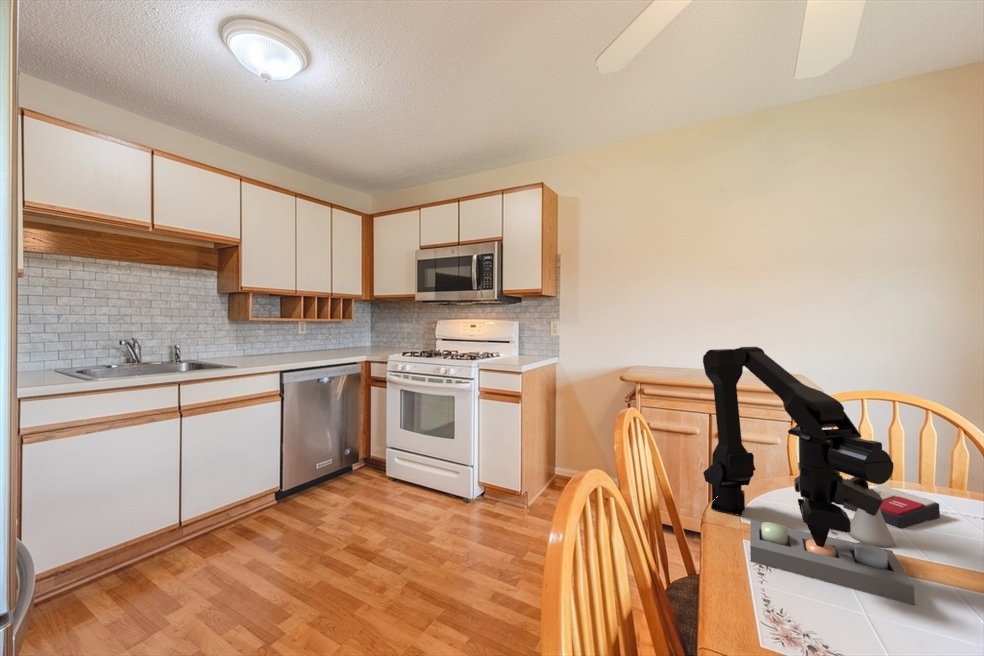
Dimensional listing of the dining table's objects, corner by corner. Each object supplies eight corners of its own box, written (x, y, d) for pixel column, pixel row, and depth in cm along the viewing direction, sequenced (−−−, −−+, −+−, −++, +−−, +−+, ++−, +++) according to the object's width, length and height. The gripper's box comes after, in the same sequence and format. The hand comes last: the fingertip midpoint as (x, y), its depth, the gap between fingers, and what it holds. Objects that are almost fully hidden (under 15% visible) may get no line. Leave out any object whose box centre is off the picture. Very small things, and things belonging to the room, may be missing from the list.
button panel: (750, 561, 75) (750, 545, 75) (750, 533, 84) (750, 519, 84) (914, 605, 62) (914, 586, 62) (892, 566, 72) (892, 550, 72)
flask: (905, 549, 78) (904, 500, 78) (862, 546, 79) (861, 497, 79) (877, 531, 85) (876, 485, 85) (838, 528, 86) (838, 483, 86)
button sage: (762, 545, 77) (761, 529, 77) (761, 535, 80) (761, 520, 80) (788, 551, 74) (788, 535, 74) (787, 541, 78) (786, 525, 78)
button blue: (857, 568, 69) (857, 550, 69) (852, 557, 72) (852, 540, 72) (890, 576, 66) (890, 558, 66) (884, 564, 70) (883, 546, 70)
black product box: (841, 494, 96) (880, 482, 100) (842, 511, 96) (881, 499, 101) (899, 514, 85) (940, 500, 90) (900, 533, 85) (940, 518, 90)
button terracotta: (807, 564, 73) (807, 547, 73) (805, 553, 76) (804, 537, 76) (837, 572, 70) (836, 554, 70) (833, 560, 74) (832, 543, 74)
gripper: (892, 490, 61) (894, 588, 61) (864, 457, 77) (866, 535, 77) (802, 476, 67) (804, 565, 67) (793, 448, 83) (794, 520, 83)
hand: (819, 545), depth 73 cm, fingers closed, pressing on button terracotta
